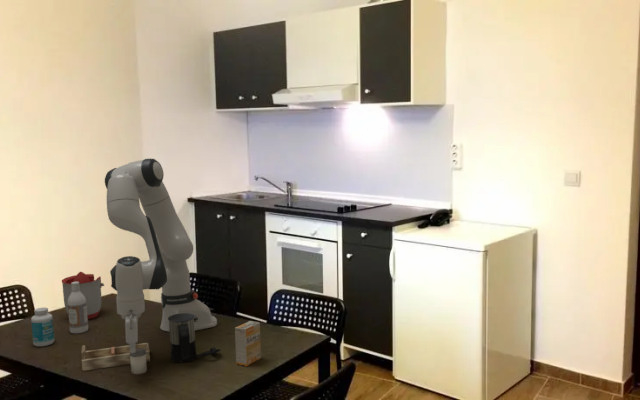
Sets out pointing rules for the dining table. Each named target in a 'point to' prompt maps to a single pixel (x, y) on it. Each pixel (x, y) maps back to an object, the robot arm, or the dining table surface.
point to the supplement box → (247, 343)
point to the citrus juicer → (85, 292)
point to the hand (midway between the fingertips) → (132, 347)
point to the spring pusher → (112, 351)
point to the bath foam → (77, 310)
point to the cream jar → (138, 361)
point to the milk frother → (184, 338)
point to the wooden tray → (109, 357)
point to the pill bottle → (42, 327)
